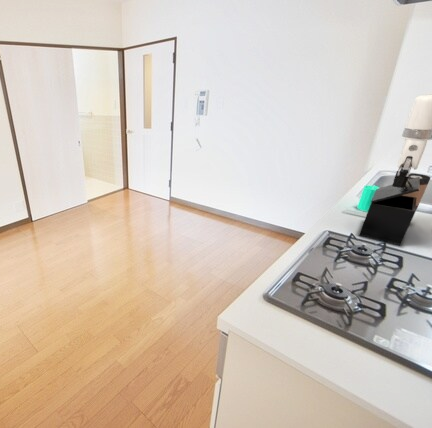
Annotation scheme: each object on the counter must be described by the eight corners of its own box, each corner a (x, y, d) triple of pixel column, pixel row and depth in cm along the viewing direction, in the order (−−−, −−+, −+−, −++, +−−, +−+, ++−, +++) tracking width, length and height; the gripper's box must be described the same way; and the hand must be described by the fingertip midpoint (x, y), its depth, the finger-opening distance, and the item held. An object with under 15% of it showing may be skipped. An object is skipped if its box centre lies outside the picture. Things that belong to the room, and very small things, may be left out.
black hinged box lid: (420, 178, 103) (413, 166, 103) (419, 190, 93) (411, 177, 93) (377, 190, 113) (370, 179, 113) (371, 203, 102) (365, 190, 103)
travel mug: (410, 227, 112) (431, 180, 104) (384, 222, 117) (403, 176, 109) (409, 220, 117) (430, 175, 109) (385, 215, 122) (403, 172, 114)
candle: (358, 205, 133) (366, 181, 128) (374, 208, 129) (384, 184, 124) (355, 209, 130) (364, 184, 125) (372, 212, 126) (382, 187, 121)
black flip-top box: (402, 229, 111) (416, 197, 105) (399, 246, 101) (415, 211, 95) (364, 221, 119) (376, 191, 113) (358, 235, 108) (370, 203, 103)
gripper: (434, 139, 86) (412, 193, 94) (433, 130, 97) (413, 180, 105) (401, 137, 91) (382, 189, 99) (403, 129, 102) (386, 176, 110)
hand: (398, 184), depth 102 cm, fingers closed on black hinged box lid, 6 cm apart
